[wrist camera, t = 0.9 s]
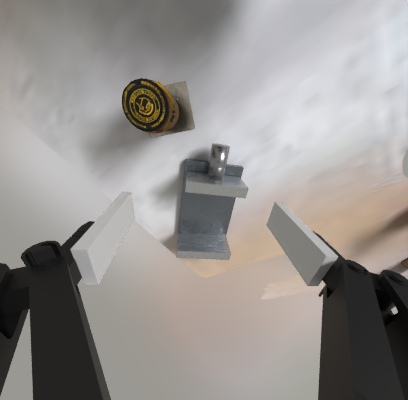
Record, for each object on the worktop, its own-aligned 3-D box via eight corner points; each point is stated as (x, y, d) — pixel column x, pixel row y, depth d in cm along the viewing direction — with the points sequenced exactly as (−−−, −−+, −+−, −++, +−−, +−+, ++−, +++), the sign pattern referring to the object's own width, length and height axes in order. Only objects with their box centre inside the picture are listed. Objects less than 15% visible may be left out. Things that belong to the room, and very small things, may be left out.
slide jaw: (190, 139, 29) (190, 144, 24) (246, 147, 31) (258, 153, 25) (186, 180, 33) (185, 192, 28) (237, 185, 34) (245, 198, 29)
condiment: (136, 92, 27) (101, 75, 16) (185, 81, 27) (182, 56, 16) (151, 137, 30) (129, 148, 20) (194, 128, 30) (197, 133, 19)
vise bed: (185, 158, 32) (184, 168, 26) (241, 166, 34) (253, 177, 28) (178, 235, 41) (176, 257, 35) (223, 238, 43) (229, 259, 36)
